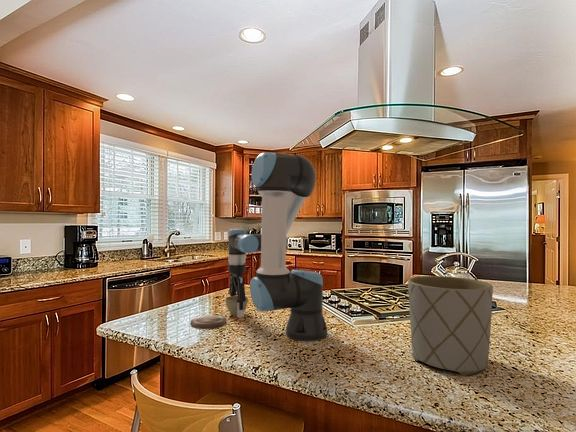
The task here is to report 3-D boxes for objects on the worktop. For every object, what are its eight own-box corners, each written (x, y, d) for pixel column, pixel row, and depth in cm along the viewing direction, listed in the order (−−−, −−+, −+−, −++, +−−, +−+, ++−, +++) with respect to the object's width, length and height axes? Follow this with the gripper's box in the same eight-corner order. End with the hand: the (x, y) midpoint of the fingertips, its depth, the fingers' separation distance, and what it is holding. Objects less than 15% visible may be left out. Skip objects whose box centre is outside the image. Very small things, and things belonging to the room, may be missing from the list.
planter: (394, 360, 103) (394, 281, 103) (427, 341, 119) (427, 273, 119) (477, 387, 87) (477, 293, 87) (502, 361, 103) (502, 282, 103)
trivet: (229, 325, 136) (230, 322, 136) (193, 330, 130) (193, 326, 130) (221, 316, 149) (221, 313, 149) (188, 320, 143) (188, 316, 143)
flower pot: (246, 317, 147) (246, 300, 147) (223, 317, 148) (223, 300, 148) (249, 311, 157) (249, 295, 157) (227, 311, 157) (227, 295, 158)
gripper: (253, 266, 144) (253, 319, 143) (238, 260, 165) (237, 306, 165) (236, 267, 140) (235, 321, 140) (222, 261, 162) (222, 308, 161)
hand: (236, 313), depth 152 cm, fingers open, 11 cm apart
